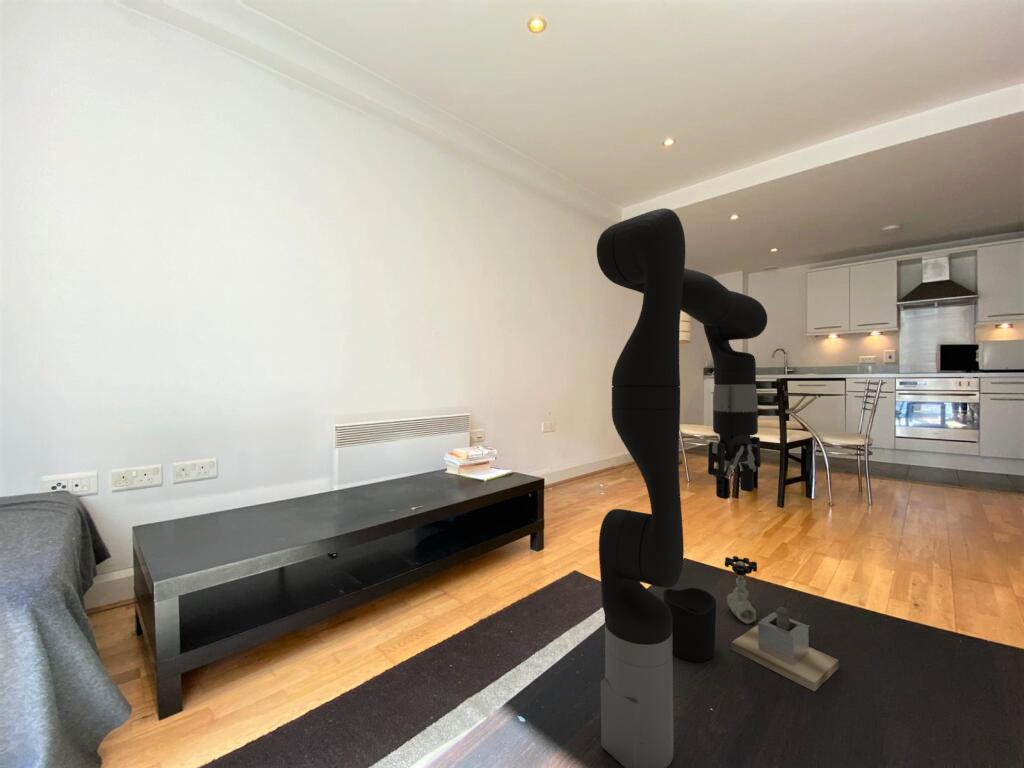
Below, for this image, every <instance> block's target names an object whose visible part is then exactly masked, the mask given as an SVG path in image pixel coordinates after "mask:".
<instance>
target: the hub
mask: <svg viewBox="0 0 1024 768" xmlns="http://www.w3.org/2000/svg"><path fill="white" fill-rule="evenodd" d="M757 625H758V649H760V650H762V651H764V652H766V653H769V654H771V655H773V656H775V657H777V658H779V659H781V660H783V661H785V662H787V663H789V664H792V665H795V664H796V663H797V662H798V661H800V660H801V659H802V658H803V657H804V656H806V655H807V654H808V653H809V646H810V645H809V644H810V643H809V625H808V624H804V623H802V622H799V621H798V620H795V619H792V618H790V617H789V631H786V630H784V629H782V628H779V627H777V612H775V611H773V612H772V613H769V614H768V615H767V616H765V617H763V618H762V619H761V620H759V621H758V622H757Z"/></svg>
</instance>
